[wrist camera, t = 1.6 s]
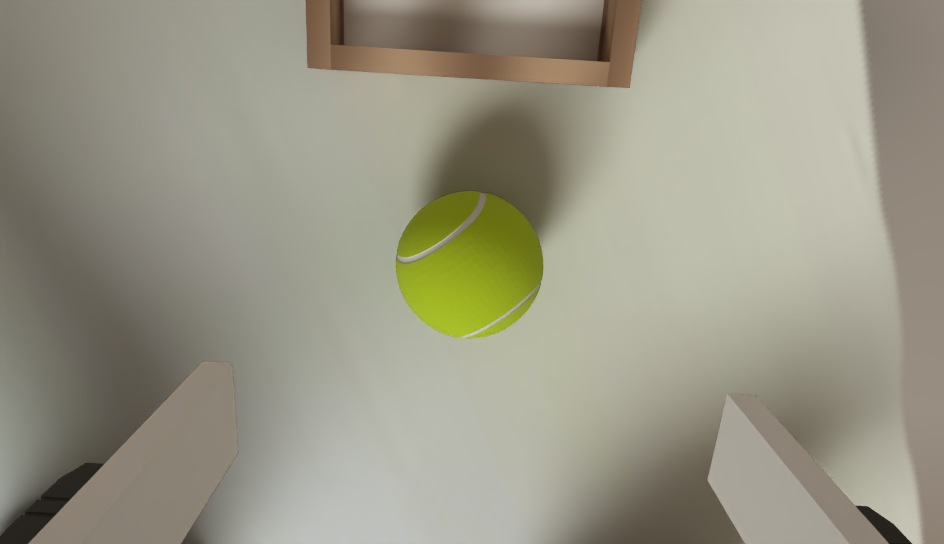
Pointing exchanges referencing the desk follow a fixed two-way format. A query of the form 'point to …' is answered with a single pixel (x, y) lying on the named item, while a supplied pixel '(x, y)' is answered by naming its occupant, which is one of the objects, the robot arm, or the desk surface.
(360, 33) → the socket board
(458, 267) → the tennis ball
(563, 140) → the desk surface
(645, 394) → the desk surface
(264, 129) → the desk surface
